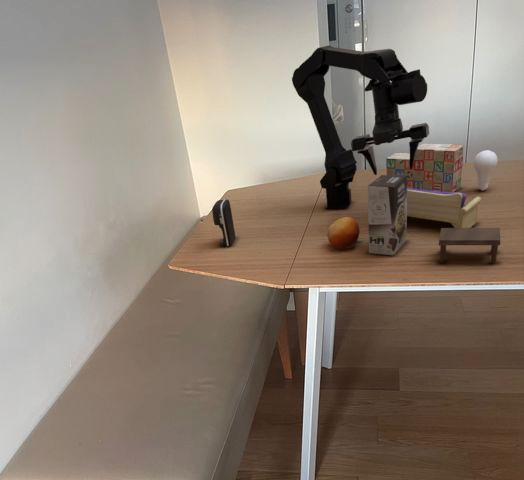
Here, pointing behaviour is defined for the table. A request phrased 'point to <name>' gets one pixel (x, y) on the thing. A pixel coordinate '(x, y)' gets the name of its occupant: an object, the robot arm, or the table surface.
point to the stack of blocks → (430, 167)
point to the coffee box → (387, 214)
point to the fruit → (343, 233)
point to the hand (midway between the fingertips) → (393, 171)
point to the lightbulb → (485, 167)
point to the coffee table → (469, 239)
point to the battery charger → (224, 221)
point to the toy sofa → (442, 207)
